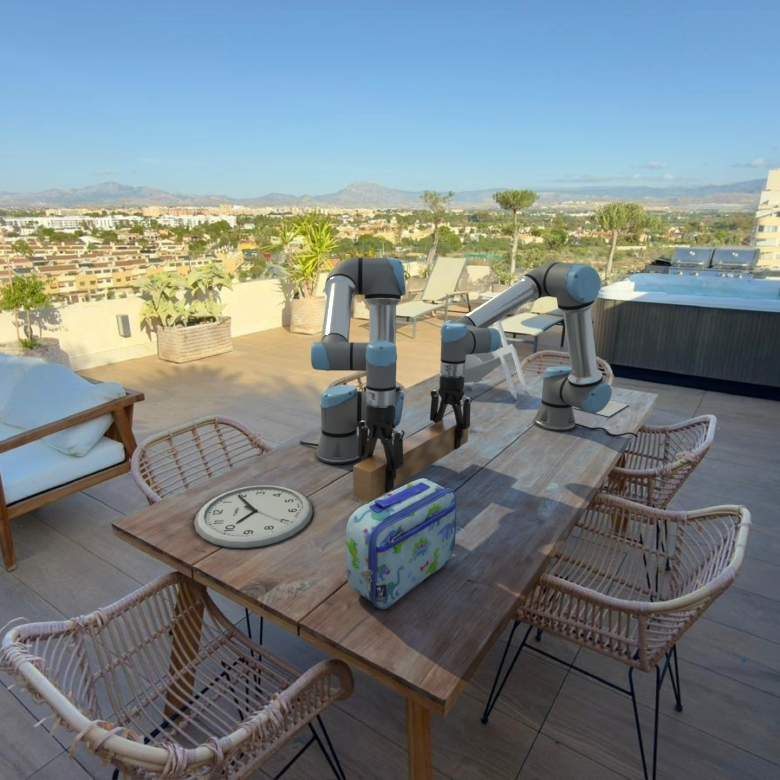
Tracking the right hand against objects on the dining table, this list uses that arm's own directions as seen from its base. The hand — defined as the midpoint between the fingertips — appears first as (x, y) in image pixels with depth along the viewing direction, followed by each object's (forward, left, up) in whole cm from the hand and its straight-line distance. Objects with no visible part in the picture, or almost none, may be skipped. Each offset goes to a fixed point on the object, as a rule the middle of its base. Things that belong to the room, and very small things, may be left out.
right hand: (448, 445), depth 166 cm
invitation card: (-65, -69, -7) cm, 95 cm away
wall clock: (+50, +38, -7) cm, 63 cm away
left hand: (+18, +30, 0) cm, 35 cm away
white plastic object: (-14, -81, -7) cm, 83 cm away
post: (+9, +15, -1) cm, 18 cm away
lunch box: (+9, +59, -7) cm, 60 cm away
